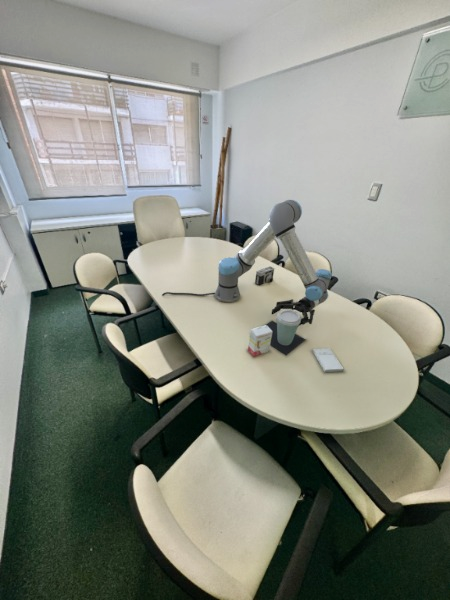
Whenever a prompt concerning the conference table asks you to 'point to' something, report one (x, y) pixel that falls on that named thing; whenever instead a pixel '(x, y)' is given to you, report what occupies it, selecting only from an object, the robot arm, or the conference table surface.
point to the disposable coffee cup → (287, 326)
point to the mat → (282, 348)
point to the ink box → (260, 340)
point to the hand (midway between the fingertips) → (283, 318)
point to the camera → (264, 276)
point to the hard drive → (328, 360)
